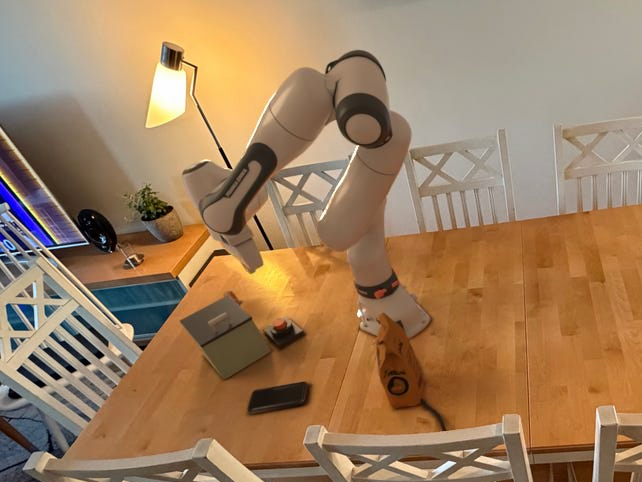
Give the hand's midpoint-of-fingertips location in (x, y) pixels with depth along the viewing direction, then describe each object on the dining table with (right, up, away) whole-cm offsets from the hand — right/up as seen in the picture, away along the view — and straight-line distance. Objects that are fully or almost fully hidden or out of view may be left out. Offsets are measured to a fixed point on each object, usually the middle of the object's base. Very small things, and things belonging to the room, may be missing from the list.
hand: (251, 271), depth 138 cm
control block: (+3, -16, +16) cm, 23 cm away
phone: (+9, -35, -4) cm, 36 cm away
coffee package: (+44, -33, -8) cm, 55 cm away
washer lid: (-11, -13, +3) cm, 18 cm away
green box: (-10, -22, +12) cm, 27 cm away
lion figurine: (-17, -9, +28) cm, 34 cm away
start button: (+3, -14, +14) cm, 20 cm away
